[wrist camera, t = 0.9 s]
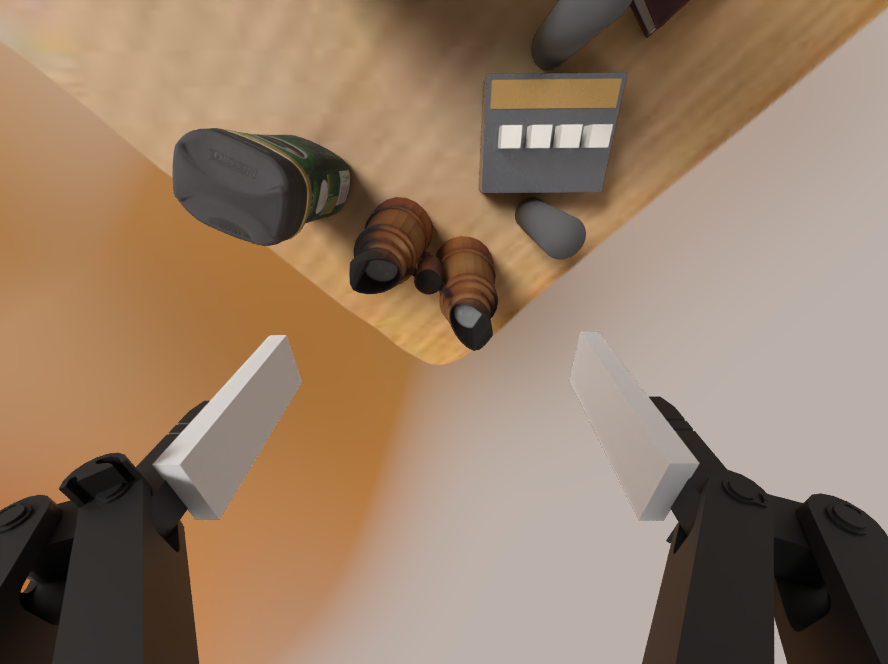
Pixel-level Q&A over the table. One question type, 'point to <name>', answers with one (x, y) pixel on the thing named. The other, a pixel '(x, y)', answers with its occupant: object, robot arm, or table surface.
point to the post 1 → (572, 28)
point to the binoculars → (427, 267)
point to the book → (655, 13)
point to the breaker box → (551, 105)
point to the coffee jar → (257, 183)
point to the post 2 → (551, 228)
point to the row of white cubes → (555, 136)
